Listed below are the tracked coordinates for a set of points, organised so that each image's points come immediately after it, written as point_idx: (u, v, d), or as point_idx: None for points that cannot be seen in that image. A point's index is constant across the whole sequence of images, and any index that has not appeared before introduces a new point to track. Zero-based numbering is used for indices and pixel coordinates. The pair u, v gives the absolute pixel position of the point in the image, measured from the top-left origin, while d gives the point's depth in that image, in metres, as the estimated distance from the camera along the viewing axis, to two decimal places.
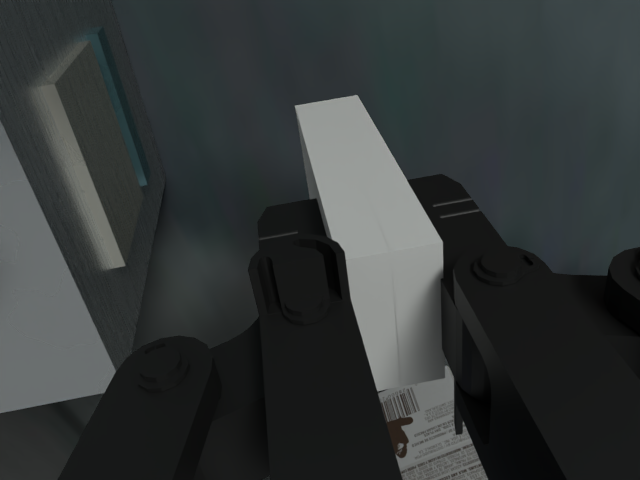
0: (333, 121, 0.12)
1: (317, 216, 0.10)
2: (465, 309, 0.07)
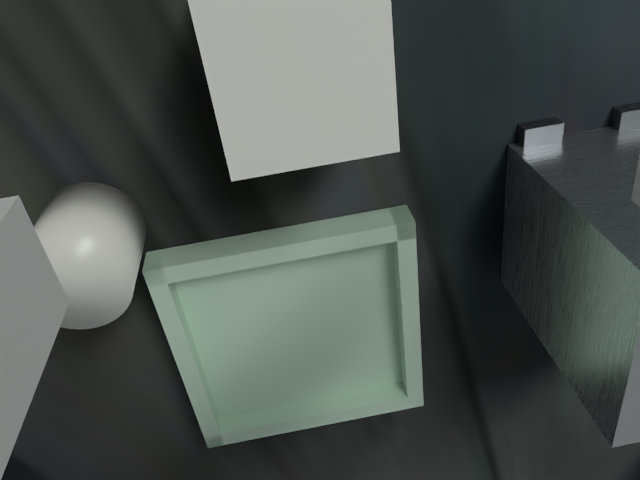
0: None
1: None
2: None
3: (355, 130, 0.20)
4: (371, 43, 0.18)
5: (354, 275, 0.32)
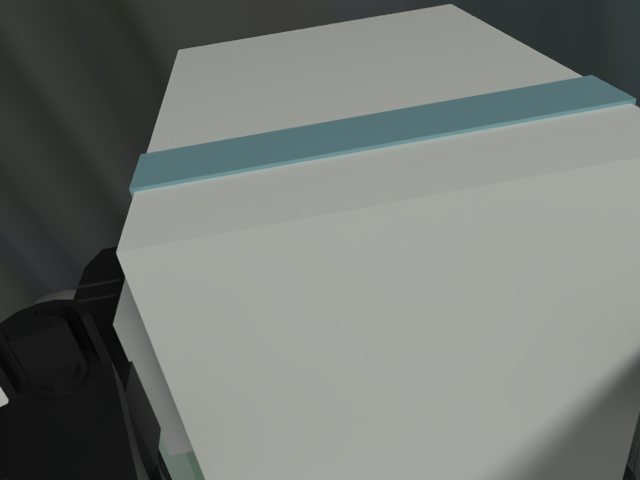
0: None
1: None
2: None
3: (531, 473, 0.08)
4: (609, 317, 0.07)
5: None
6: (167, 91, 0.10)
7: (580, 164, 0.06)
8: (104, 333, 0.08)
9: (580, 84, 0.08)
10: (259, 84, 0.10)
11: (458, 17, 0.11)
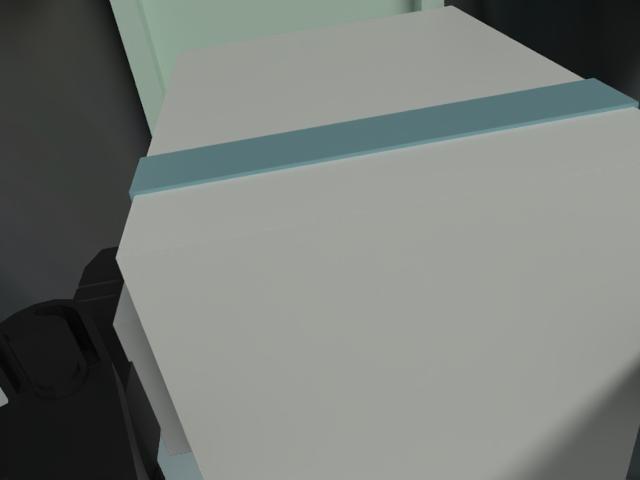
0: None
1: None
2: None
3: (533, 477, 0.08)
4: (612, 322, 0.07)
5: None
6: (167, 93, 0.10)
7: (583, 168, 0.06)
8: (104, 333, 0.08)
9: (582, 86, 0.07)
10: (259, 86, 0.09)
11: (458, 19, 0.11)
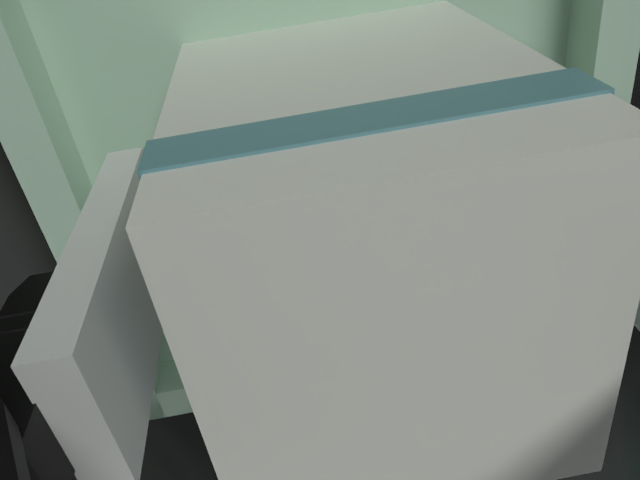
0: None
1: None
2: None
3: (517, 446, 0.09)
4: (588, 294, 0.07)
5: None
6: (171, 82, 0.10)
7: (558, 147, 0.06)
8: (13, 371, 0.08)
9: (563, 75, 0.08)
10: (259, 76, 0.10)
11: (451, 13, 0.12)
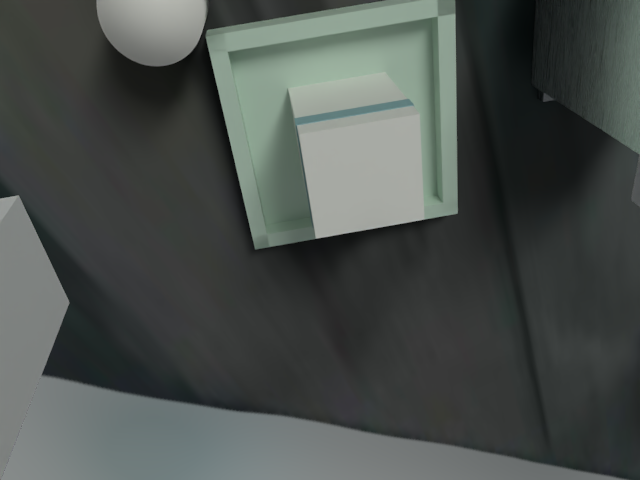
0: None
1: None
2: None
3: (396, 207, 0.31)
4: (407, 156, 0.29)
5: (396, 64, 0.35)
6: (291, 102, 0.32)
7: (393, 117, 0.28)
8: None
9: (404, 100, 0.30)
10: (320, 100, 0.32)
11: (384, 78, 0.34)
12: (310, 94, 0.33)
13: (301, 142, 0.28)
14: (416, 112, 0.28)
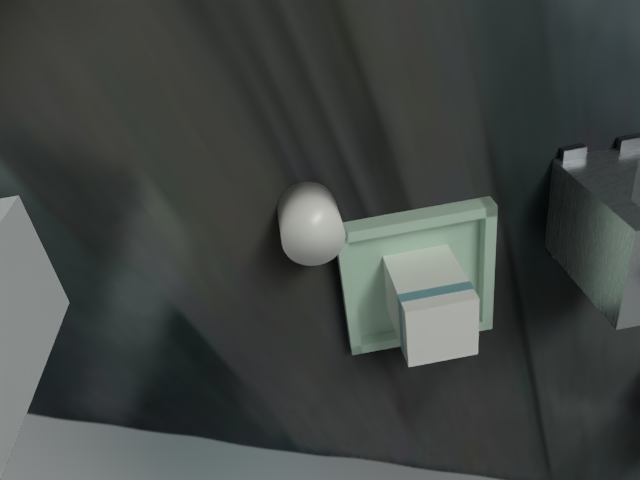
0: None
1: None
2: None
3: (460, 348, 0.48)
4: (470, 320, 0.46)
5: (455, 240, 0.52)
6: (390, 275, 0.49)
7: (463, 301, 0.45)
8: None
9: (467, 283, 0.47)
10: (409, 275, 0.49)
11: (449, 252, 0.51)
12: (400, 266, 0.50)
13: (406, 316, 0.45)
14: (477, 297, 0.45)
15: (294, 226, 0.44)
